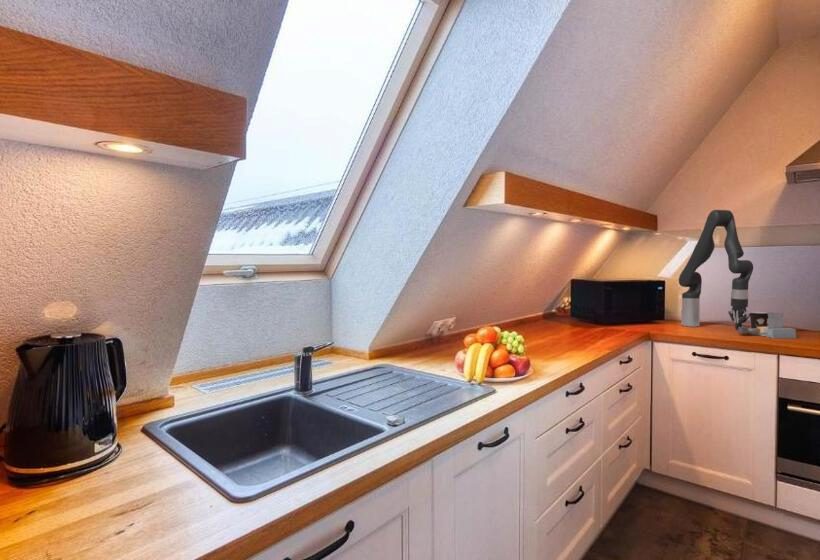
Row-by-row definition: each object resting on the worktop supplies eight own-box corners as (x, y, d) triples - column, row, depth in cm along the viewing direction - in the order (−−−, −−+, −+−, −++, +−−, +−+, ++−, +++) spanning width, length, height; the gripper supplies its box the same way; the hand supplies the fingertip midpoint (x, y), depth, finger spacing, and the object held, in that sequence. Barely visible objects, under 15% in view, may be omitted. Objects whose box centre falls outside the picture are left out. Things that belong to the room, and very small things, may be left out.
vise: (743, 332, 251) (743, 324, 251) (764, 332, 252) (764, 324, 252) (773, 338, 231) (773, 329, 231) (796, 338, 232) (796, 329, 232)
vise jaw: (738, 332, 242) (738, 326, 242) (778, 331, 242) (778, 326, 242) (742, 333, 238) (743, 327, 238) (784, 332, 239) (784, 327, 239)
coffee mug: (747, 330, 261) (747, 312, 261) (751, 328, 267) (751, 311, 267) (773, 332, 253) (773, 314, 252) (776, 330, 258) (776, 312, 258)
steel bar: (768, 333, 239) (768, 312, 238) (777, 333, 239) (777, 312, 239) (773, 334, 235) (773, 312, 235) (783, 334, 235) (783, 312, 235)
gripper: (756, 299, 236) (754, 332, 237) (737, 296, 249) (735, 327, 250) (742, 299, 236) (740, 332, 237) (723, 296, 249) (722, 327, 250)
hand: (738, 329), depth 244 cm, fingers closed
